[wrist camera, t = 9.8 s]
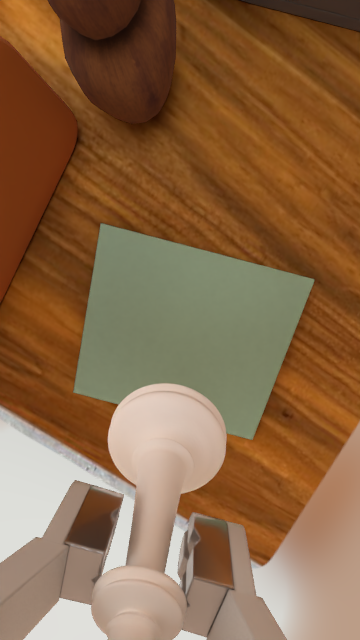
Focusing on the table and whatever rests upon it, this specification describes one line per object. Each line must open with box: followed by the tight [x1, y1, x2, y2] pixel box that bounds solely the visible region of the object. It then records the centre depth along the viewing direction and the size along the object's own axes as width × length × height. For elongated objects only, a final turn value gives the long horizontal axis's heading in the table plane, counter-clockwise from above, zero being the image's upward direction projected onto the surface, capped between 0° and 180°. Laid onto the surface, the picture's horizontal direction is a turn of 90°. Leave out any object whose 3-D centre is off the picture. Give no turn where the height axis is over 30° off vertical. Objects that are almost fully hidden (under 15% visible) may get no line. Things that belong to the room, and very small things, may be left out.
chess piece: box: [91, 383, 227, 640], centre depth 6 cm, size 5×5×10 cm
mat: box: [73, 223, 314, 440], centre depth 24 cm, size 18×16×1 cm
